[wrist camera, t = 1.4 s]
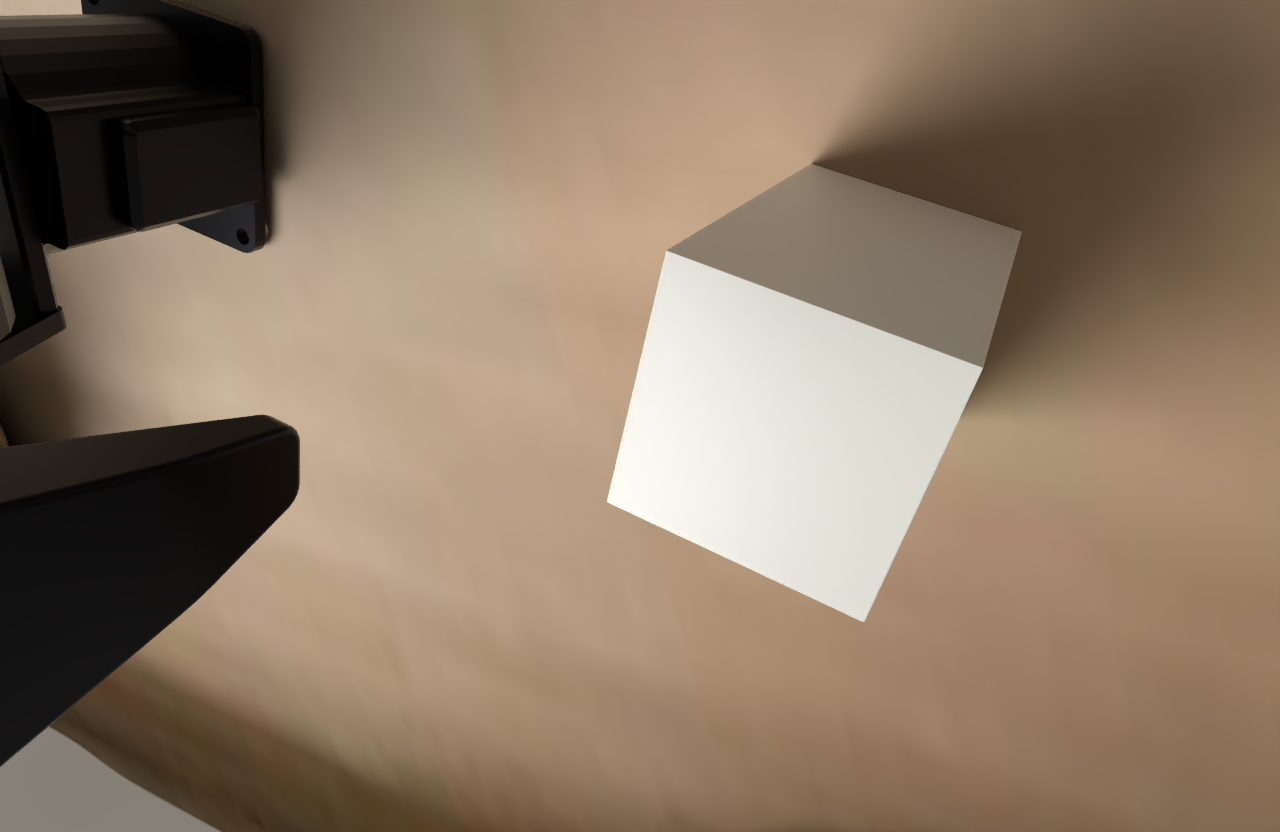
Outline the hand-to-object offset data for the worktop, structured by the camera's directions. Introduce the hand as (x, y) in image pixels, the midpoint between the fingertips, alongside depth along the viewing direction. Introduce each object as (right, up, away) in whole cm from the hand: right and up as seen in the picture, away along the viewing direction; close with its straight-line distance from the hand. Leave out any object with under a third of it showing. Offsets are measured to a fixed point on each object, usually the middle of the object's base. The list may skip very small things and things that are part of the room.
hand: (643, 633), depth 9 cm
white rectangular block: (+5, +5, +11) cm, 13 cm away
